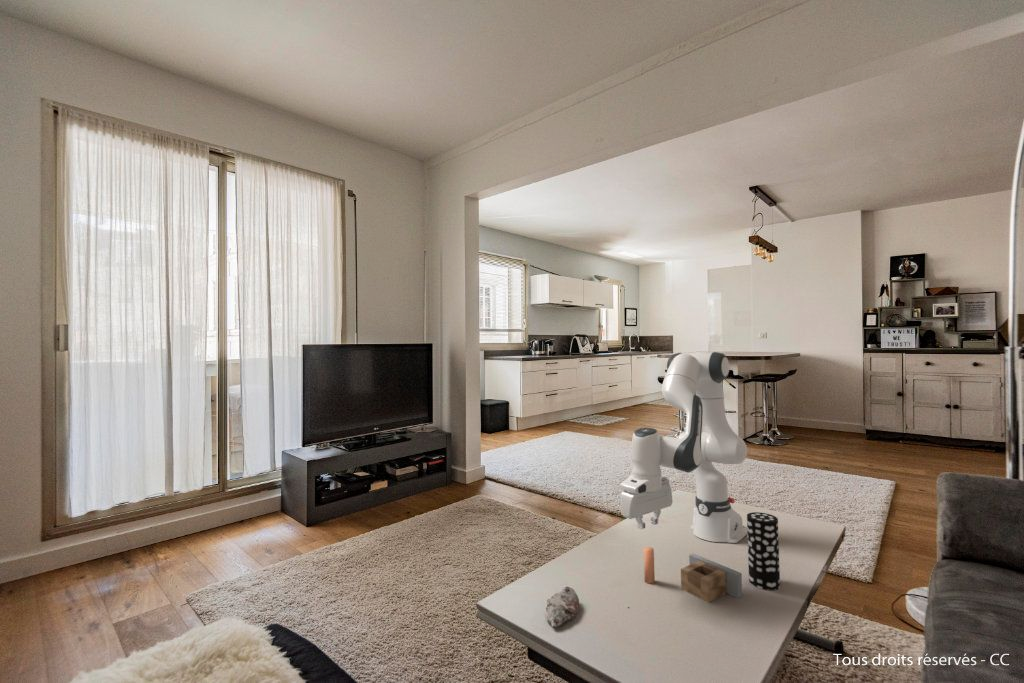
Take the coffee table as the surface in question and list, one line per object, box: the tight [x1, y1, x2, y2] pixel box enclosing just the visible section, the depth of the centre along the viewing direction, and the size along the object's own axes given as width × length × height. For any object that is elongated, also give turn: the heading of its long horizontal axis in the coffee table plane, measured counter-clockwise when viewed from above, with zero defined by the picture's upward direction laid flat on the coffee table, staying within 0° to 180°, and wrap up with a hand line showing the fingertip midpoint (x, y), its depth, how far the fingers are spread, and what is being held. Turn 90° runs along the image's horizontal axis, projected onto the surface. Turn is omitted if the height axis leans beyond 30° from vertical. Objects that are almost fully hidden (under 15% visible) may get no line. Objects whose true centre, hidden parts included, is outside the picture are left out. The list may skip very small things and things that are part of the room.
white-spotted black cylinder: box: [746, 511, 781, 591], centre depth 140 cm, size 8×8×20 cm
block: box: [680, 561, 728, 603], centre depth 136 cm, size 9×9×6 cm
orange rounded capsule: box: [643, 546, 656, 585], centre depth 142 cm, size 3×3×10 cm
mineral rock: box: [544, 586, 580, 627], centre depth 126 cm, size 15×8×4 cm, turn 139°
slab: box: [688, 552, 743, 599], centre depth 139 cm, size 2×16×6 cm, turn 33°
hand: (648, 526), depth 142 cm, fingers open, 5 cm apart
